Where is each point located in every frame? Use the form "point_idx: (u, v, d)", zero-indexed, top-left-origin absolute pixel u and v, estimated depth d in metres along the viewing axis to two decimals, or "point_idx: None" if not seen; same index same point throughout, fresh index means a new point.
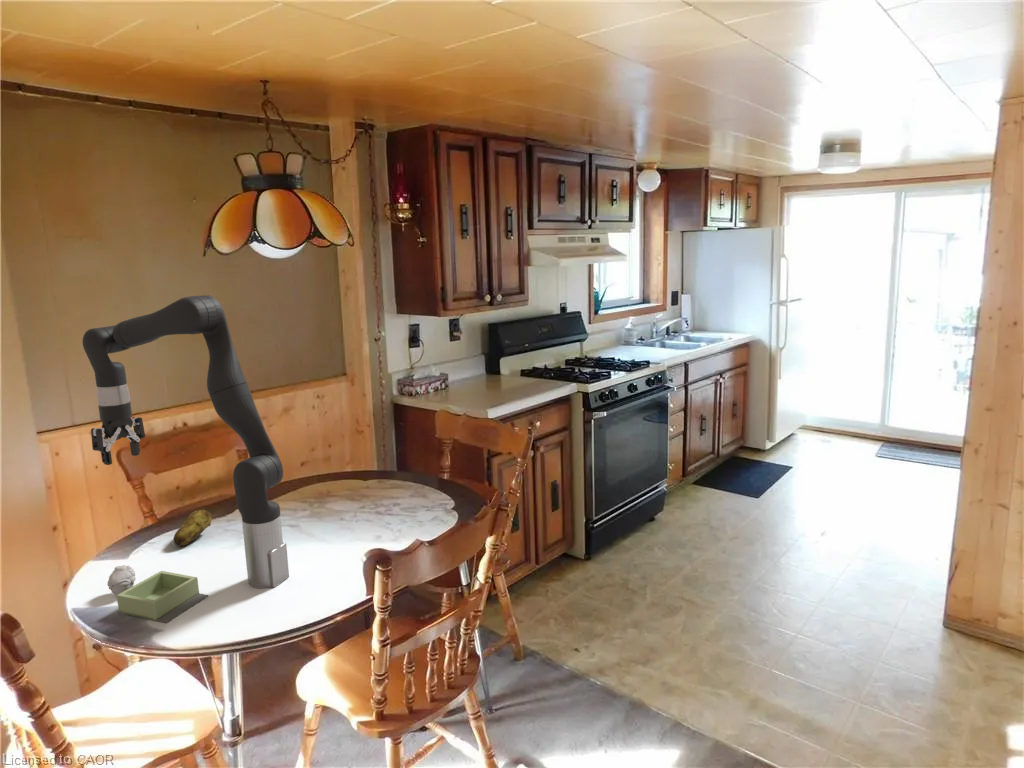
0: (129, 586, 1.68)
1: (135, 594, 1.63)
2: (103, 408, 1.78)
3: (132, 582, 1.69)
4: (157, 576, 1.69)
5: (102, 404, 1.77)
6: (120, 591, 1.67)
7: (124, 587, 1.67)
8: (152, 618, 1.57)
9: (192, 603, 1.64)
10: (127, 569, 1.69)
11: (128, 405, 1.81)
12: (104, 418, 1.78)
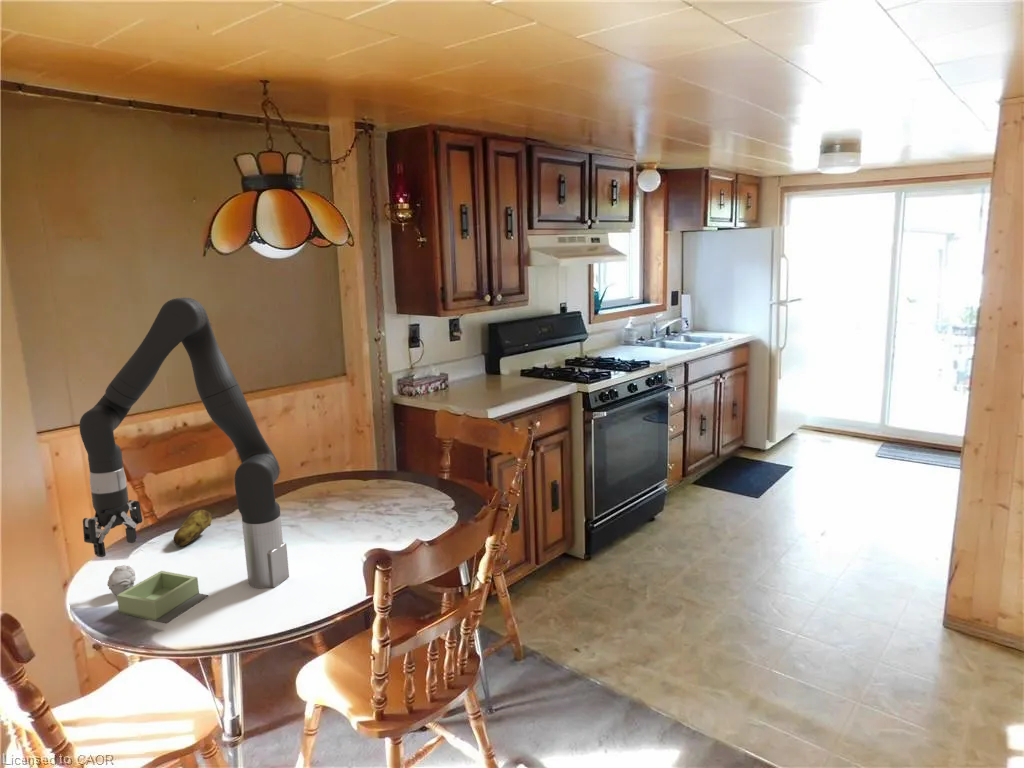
0: (129, 586, 1.68)
1: (135, 594, 1.63)
2: (96, 496, 1.61)
3: (132, 582, 1.69)
4: (157, 576, 1.69)
5: (95, 491, 1.61)
6: (120, 591, 1.67)
7: (124, 587, 1.67)
8: (152, 618, 1.57)
9: (192, 603, 1.64)
10: (127, 569, 1.69)
11: (124, 491, 1.65)
12: (97, 506, 1.62)
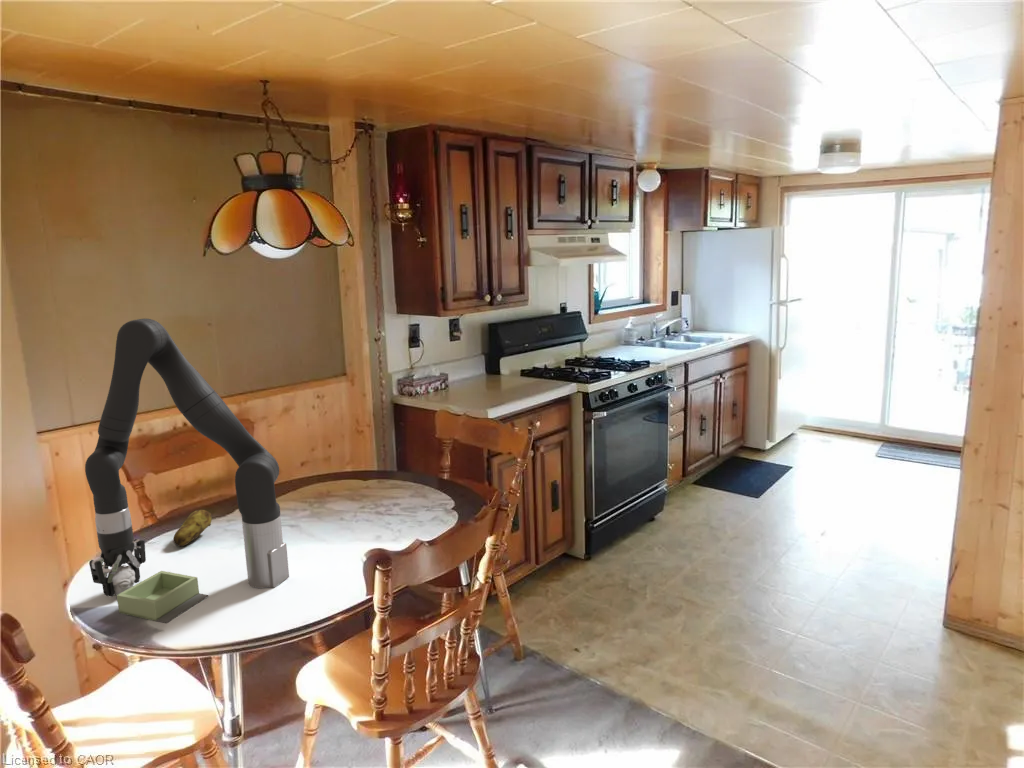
0: (129, 586, 1.68)
1: (135, 594, 1.63)
2: (102, 536, 1.63)
3: (132, 582, 1.69)
4: (157, 576, 1.69)
5: (101, 532, 1.63)
6: (120, 591, 1.67)
7: (124, 587, 1.67)
8: (152, 618, 1.57)
9: (192, 603, 1.64)
10: (127, 569, 1.69)
11: (129, 530, 1.67)
12: (103, 546, 1.64)
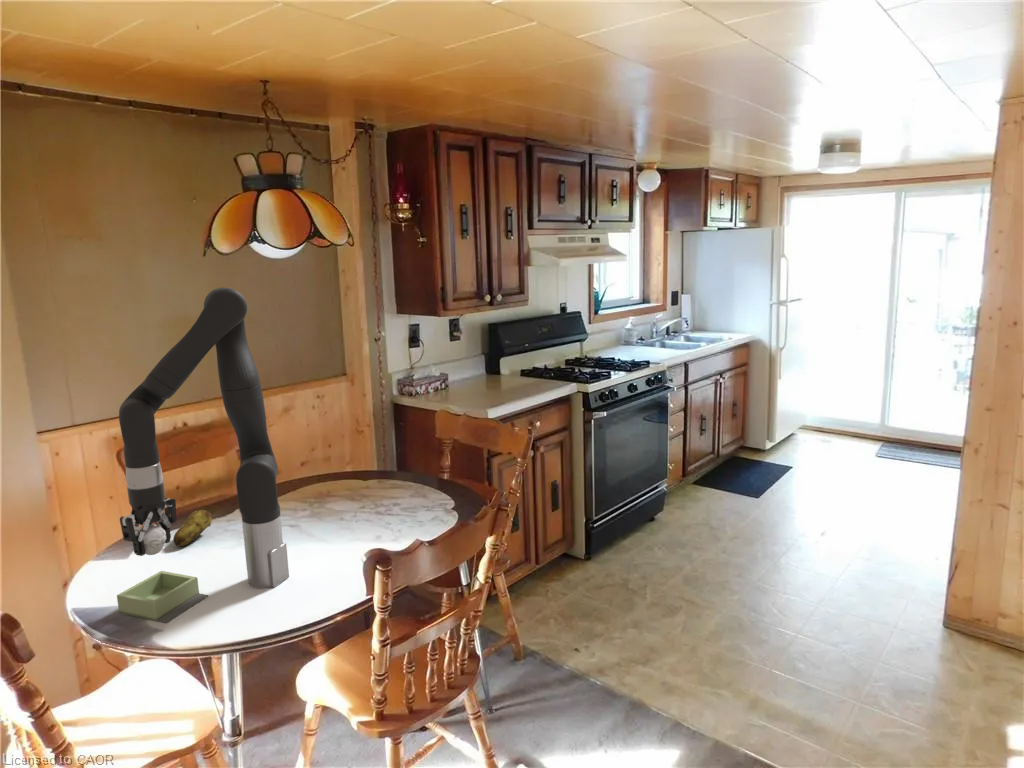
0: (160, 545, 1.61)
1: (135, 594, 1.63)
2: (133, 491, 1.55)
3: (163, 541, 1.61)
4: (157, 576, 1.69)
5: (132, 487, 1.55)
6: (151, 550, 1.59)
7: (155, 546, 1.59)
8: (152, 618, 1.57)
9: (192, 603, 1.64)
10: (158, 528, 1.61)
11: (161, 486, 1.59)
12: (134, 502, 1.56)
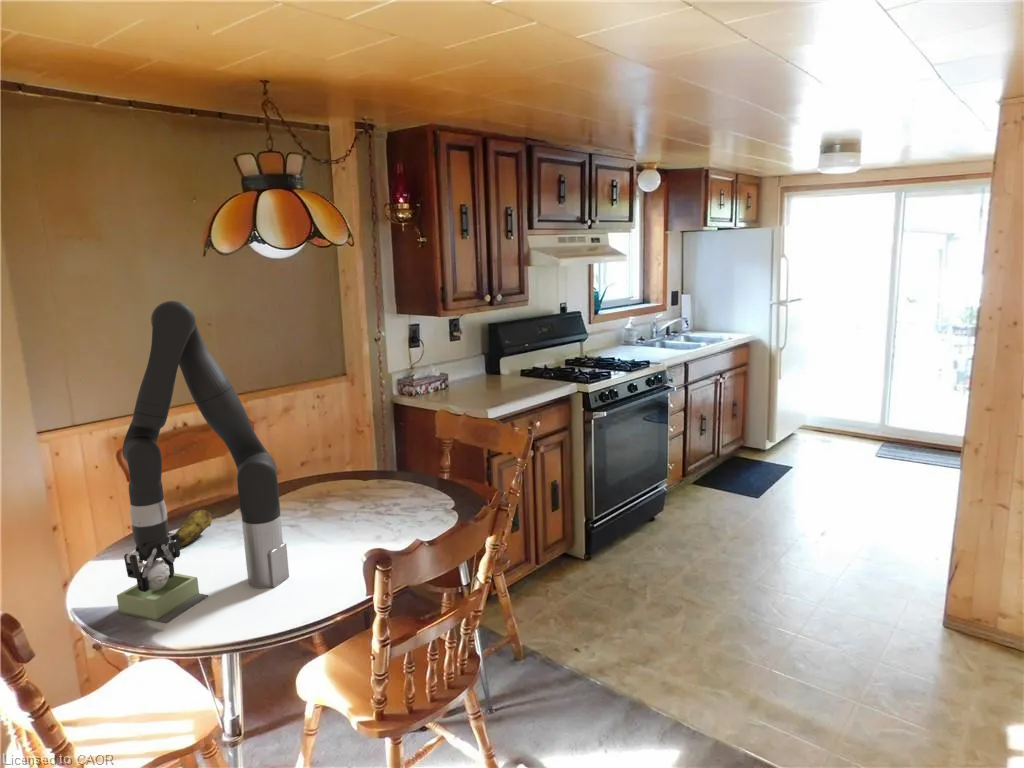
0: (163, 581, 1.62)
1: (135, 594, 1.63)
2: (138, 529, 1.57)
3: (166, 577, 1.63)
4: None
5: (136, 524, 1.57)
6: (154, 586, 1.61)
7: (158, 582, 1.61)
8: (152, 618, 1.57)
9: (192, 603, 1.64)
10: (161, 563, 1.63)
11: (165, 523, 1.61)
12: (138, 540, 1.58)
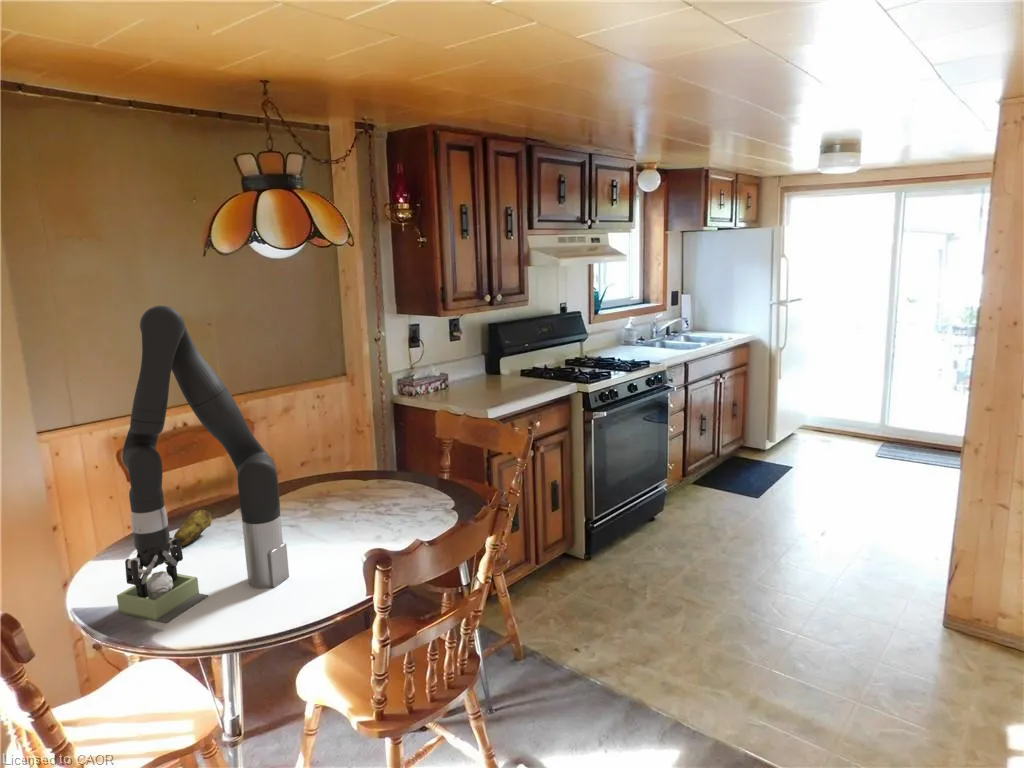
0: None
1: (135, 594, 1.63)
2: (139, 536, 1.57)
3: (170, 589, 1.64)
4: None
5: (137, 531, 1.57)
6: None
7: (162, 594, 1.62)
8: (152, 618, 1.57)
9: (192, 603, 1.64)
10: (165, 576, 1.64)
11: (166, 530, 1.61)
12: (139, 546, 1.58)
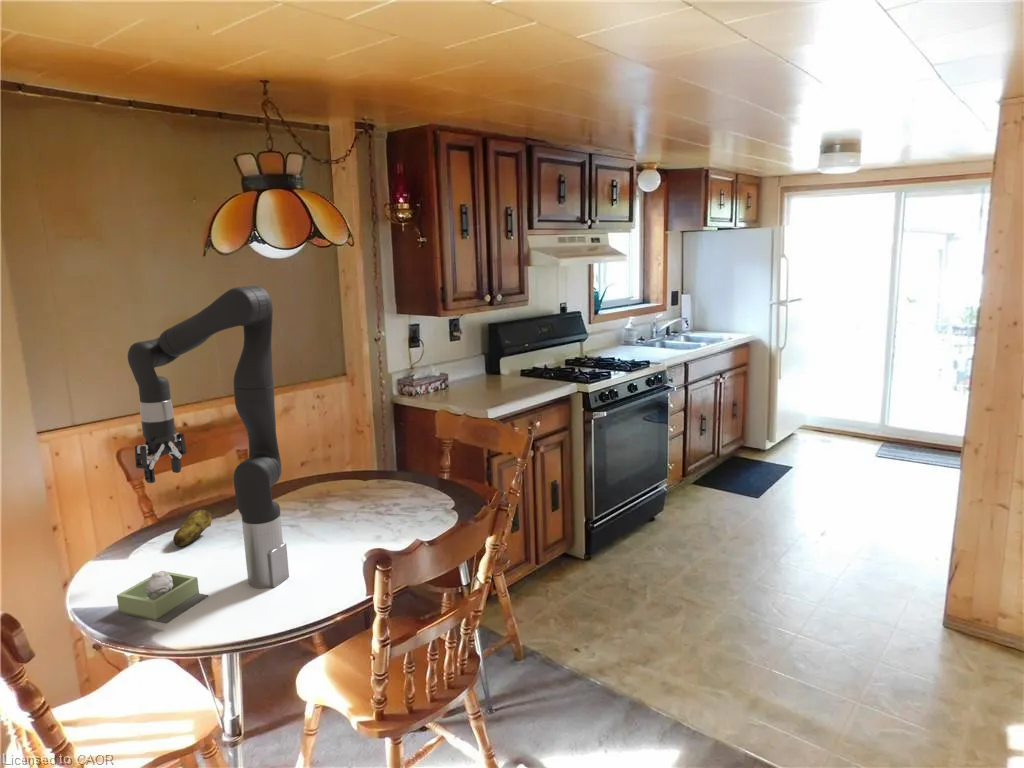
0: None
1: (135, 594, 1.63)
2: (147, 424, 1.71)
3: (170, 589, 1.64)
4: None
5: (146, 420, 1.71)
6: None
7: (162, 594, 1.62)
8: (152, 618, 1.57)
9: (192, 603, 1.64)
10: (165, 576, 1.64)
11: (172, 421, 1.75)
12: (148, 434, 1.72)
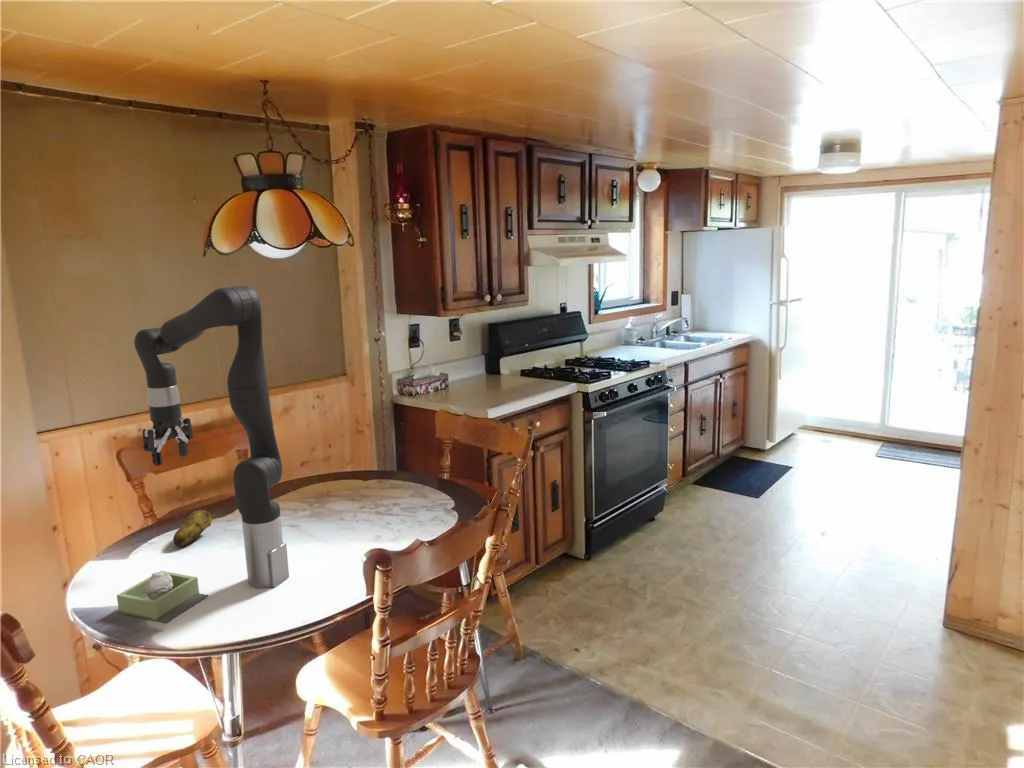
0: None
1: (135, 594, 1.63)
2: (154, 409, 1.78)
3: (170, 589, 1.64)
4: None
5: (153, 405, 1.78)
6: None
7: (162, 594, 1.62)
8: (152, 618, 1.57)
9: (192, 603, 1.64)
10: (165, 576, 1.64)
11: (178, 406, 1.81)
12: (155, 419, 1.78)
